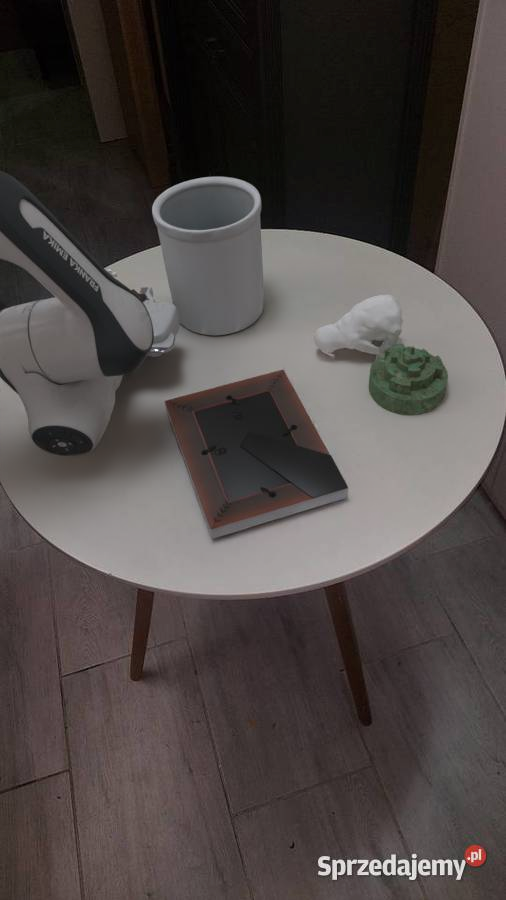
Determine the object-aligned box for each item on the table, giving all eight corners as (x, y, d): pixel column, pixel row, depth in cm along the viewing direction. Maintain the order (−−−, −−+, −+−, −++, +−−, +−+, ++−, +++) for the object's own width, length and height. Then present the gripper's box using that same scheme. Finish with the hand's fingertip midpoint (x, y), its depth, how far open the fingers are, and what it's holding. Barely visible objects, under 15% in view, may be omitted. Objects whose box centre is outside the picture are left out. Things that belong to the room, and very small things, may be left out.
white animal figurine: (406, 310, 88) (314, 325, 89) (405, 360, 95) (319, 373, 95) (396, 282, 92) (308, 296, 93) (396, 331, 99) (313, 343, 100)
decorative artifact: (420, 355, 96) (355, 374, 94) (427, 314, 90) (359, 334, 88) (459, 401, 89) (390, 423, 87) (469, 360, 84) (396, 383, 82)
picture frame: (347, 499, 80) (283, 381, 93) (348, 486, 78) (283, 368, 92) (212, 541, 77) (167, 413, 91) (209, 528, 75) (164, 399, 89)
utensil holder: (151, 308, 106) (130, 204, 93) (224, 268, 112) (213, 164, 99) (212, 352, 98) (198, 245, 85) (286, 306, 104) (284, 199, 91)
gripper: (168, 336, 86) (183, 272, 95) (12, 334, 88) (42, 272, 97) (174, 373, 91) (189, 309, 100) (26, 371, 93) (54, 308, 102)
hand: (115, 290), depth 99 cm, fingers open, 8 cm apart
